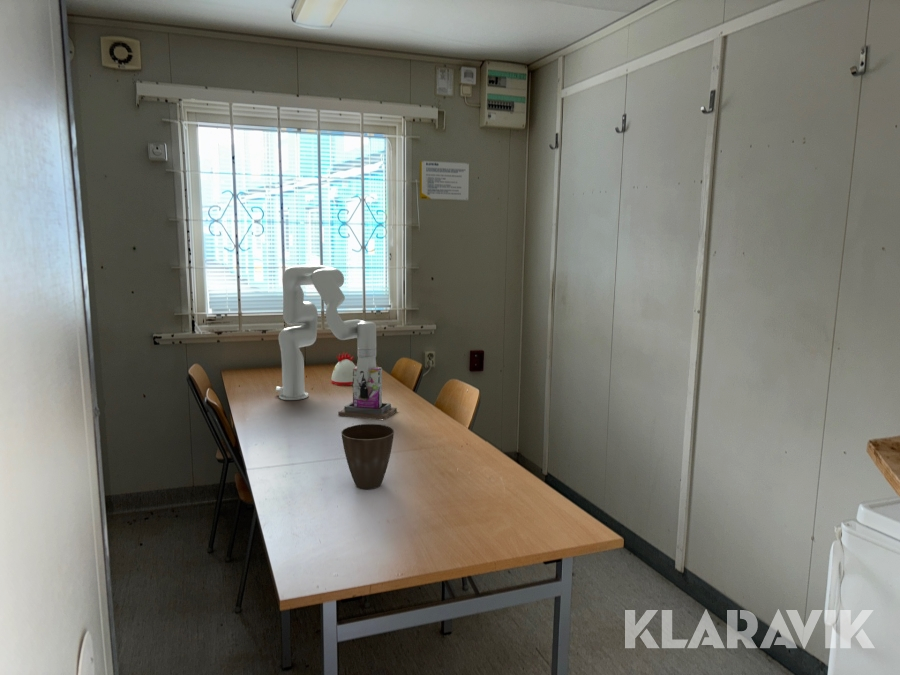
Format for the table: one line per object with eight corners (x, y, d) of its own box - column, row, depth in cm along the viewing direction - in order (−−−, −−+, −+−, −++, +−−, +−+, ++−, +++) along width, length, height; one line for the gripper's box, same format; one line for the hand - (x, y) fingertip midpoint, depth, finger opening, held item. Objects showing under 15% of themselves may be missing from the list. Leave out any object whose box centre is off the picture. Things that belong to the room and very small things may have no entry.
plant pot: (348, 474, 186) (347, 423, 184) (397, 475, 186) (396, 423, 183) (337, 494, 172) (336, 439, 169) (390, 495, 171) (390, 440, 169)
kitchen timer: (328, 380, 310) (327, 351, 307) (355, 378, 315) (354, 349, 313) (335, 386, 297) (334, 356, 295) (363, 384, 303) (362, 354, 300)
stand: (384, 419, 243) (384, 411, 242) (338, 415, 248) (338, 407, 248) (396, 411, 255) (396, 403, 254) (352, 407, 260) (352, 399, 260)
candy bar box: (352, 408, 249) (352, 368, 247) (355, 405, 254) (355, 366, 252) (379, 409, 248) (379, 369, 246) (382, 406, 253) (382, 367, 251)
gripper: (367, 348, 257) (367, 390, 260) (349, 355, 241) (349, 400, 243) (383, 349, 255) (383, 392, 258) (366, 357, 239) (367, 402, 241)
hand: (367, 395), depth 251 cm, fingers closed on candy bar box, 5 cm apart
